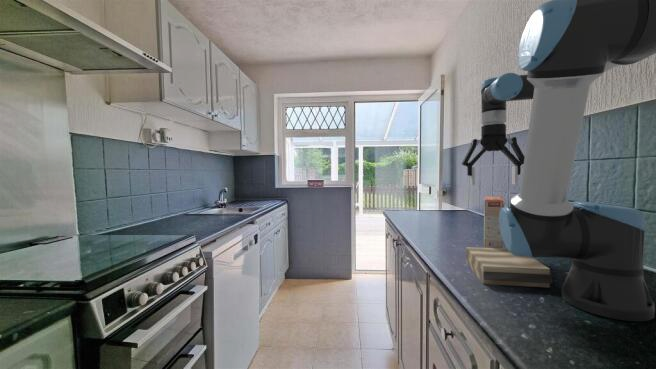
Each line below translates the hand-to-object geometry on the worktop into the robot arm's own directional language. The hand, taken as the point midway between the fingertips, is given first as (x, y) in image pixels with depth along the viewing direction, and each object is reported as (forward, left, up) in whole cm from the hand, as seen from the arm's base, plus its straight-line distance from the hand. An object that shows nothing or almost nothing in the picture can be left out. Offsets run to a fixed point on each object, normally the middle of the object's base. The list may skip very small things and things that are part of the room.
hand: (493, 184), depth 102 cm
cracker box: (0, 0, -26) cm, 26 cm away
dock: (-18, +3, -26) cm, 31 cm away
